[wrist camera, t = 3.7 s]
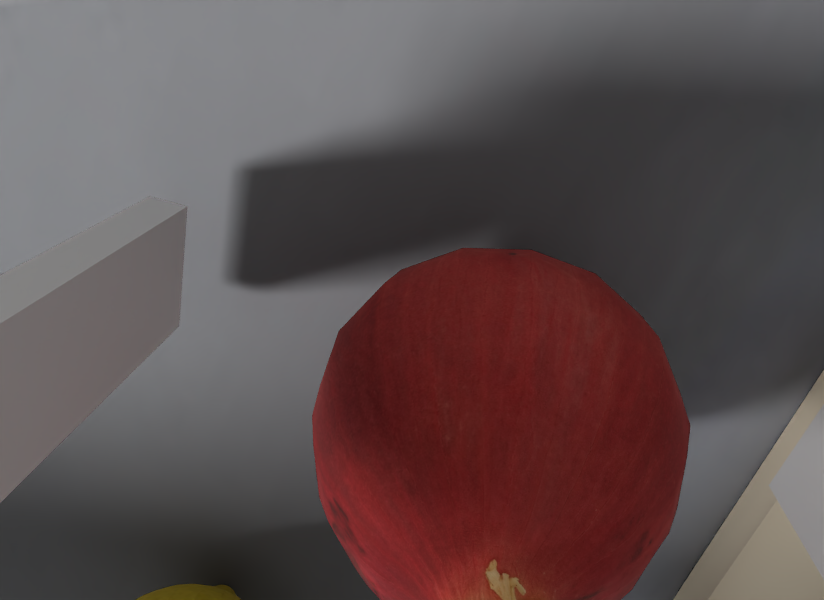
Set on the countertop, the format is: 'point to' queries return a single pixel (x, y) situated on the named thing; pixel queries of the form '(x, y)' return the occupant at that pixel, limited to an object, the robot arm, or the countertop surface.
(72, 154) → the countertop surface
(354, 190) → the countertop surface
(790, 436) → the board
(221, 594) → the lemon
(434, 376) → the onion
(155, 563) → the countertop surface
